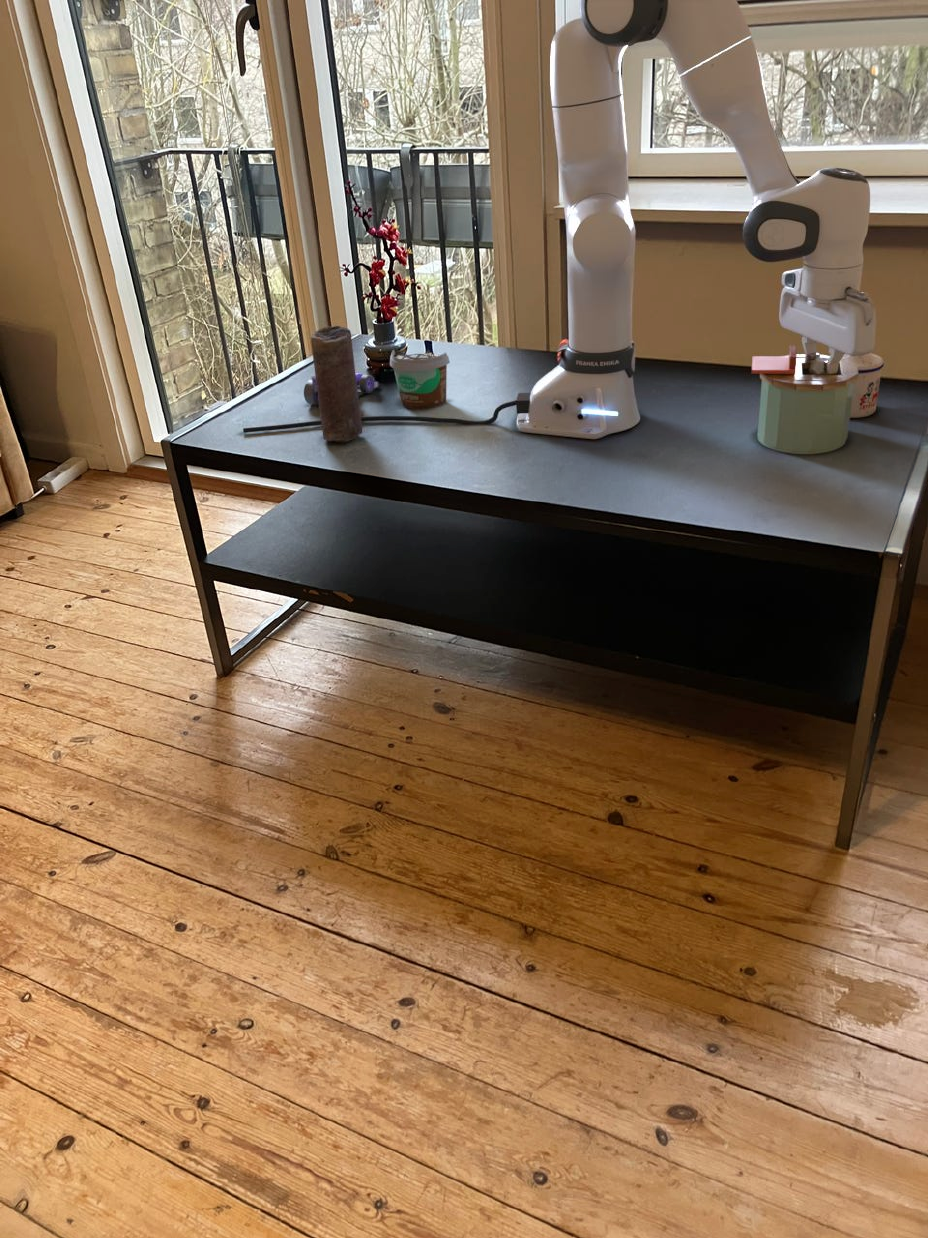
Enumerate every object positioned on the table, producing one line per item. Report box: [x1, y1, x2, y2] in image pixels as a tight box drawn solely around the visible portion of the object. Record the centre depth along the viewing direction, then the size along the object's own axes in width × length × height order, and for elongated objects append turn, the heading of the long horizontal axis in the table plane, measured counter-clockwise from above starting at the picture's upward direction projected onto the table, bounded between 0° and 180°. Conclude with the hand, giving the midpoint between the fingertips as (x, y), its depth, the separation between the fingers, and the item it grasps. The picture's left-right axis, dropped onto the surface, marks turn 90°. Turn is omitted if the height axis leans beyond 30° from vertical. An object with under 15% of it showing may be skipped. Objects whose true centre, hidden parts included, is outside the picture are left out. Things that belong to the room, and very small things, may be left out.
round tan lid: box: [759, 353, 859, 390], centre depth 165 cm, size 15×15×1 cm
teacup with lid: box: [842, 352, 885, 419], centre depth 178 cm, size 12×9×12 cm
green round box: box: [756, 369, 855, 455], centre depth 168 cm, size 14×14×11 cm
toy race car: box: [303, 372, 379, 406], centre depth 205 cm, size 10×15×6 cm, turn 152°
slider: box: [751, 345, 797, 375], centre depth 165 cm, size 7×7×3 cm
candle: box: [310, 325, 363, 443], centre depth 182 cm, size 8×7×20 cm
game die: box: [809, 358, 830, 375], centre depth 164 cm, size 4×4×3 cm
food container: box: [389, 349, 450, 410], centre depth 197 cm, size 12×6×10 cm, turn 68°
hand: (820, 368), depth 164 cm, fingers closed on game die, 3 cm apart
